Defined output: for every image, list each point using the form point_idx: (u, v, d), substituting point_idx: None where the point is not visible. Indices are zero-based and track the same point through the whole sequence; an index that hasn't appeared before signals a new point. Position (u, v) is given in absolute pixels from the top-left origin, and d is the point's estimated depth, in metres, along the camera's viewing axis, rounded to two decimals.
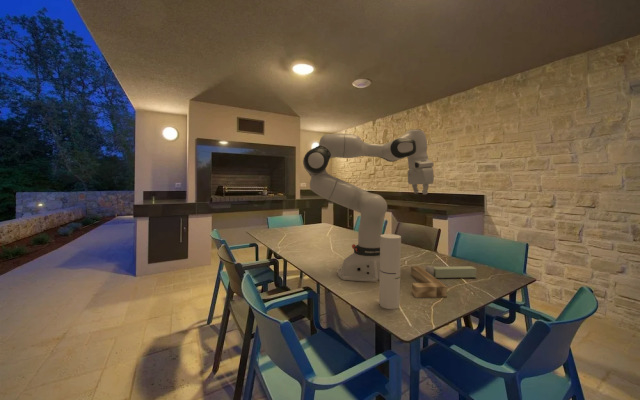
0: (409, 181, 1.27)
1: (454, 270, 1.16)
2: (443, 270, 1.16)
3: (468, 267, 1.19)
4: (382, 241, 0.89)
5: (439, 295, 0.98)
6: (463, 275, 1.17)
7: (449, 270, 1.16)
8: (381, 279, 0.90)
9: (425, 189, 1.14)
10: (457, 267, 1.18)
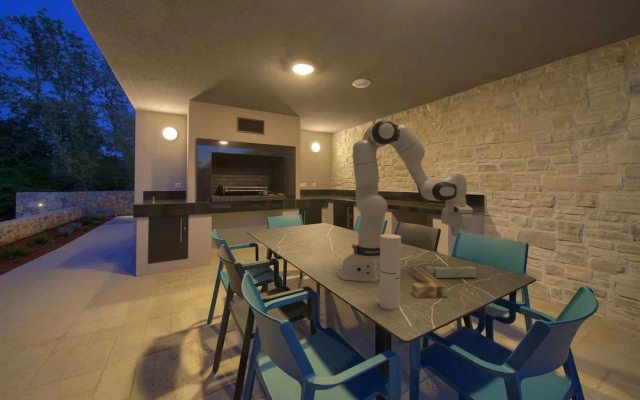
0: (443, 221, 1.31)
1: (454, 270, 1.16)
2: (443, 270, 1.16)
3: (468, 267, 1.19)
4: (382, 241, 0.89)
5: (439, 295, 0.98)
6: (463, 275, 1.17)
7: (449, 270, 1.16)
8: (381, 279, 0.90)
9: (456, 232, 1.22)
10: (457, 267, 1.18)
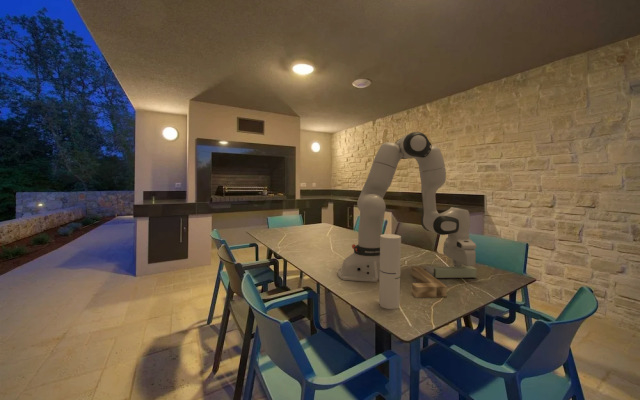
0: (445, 252, 1.28)
1: (455, 270, 1.16)
2: (443, 270, 1.16)
3: (468, 267, 1.18)
4: (382, 241, 0.89)
5: (439, 295, 0.98)
6: (463, 275, 1.17)
7: (449, 270, 1.16)
8: (381, 279, 0.90)
9: (458, 266, 1.20)
10: (457, 267, 1.18)
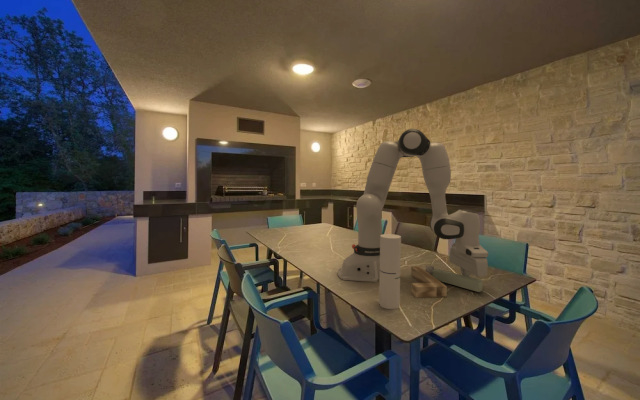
0: (451, 260, 1.16)
1: (452, 276, 1.08)
2: (440, 273, 1.12)
3: (474, 279, 1.04)
4: (382, 241, 0.89)
5: (439, 295, 0.98)
6: (463, 285, 1.05)
7: (446, 275, 1.10)
8: (381, 279, 0.90)
9: (467, 275, 1.07)
10: (459, 276, 1.08)
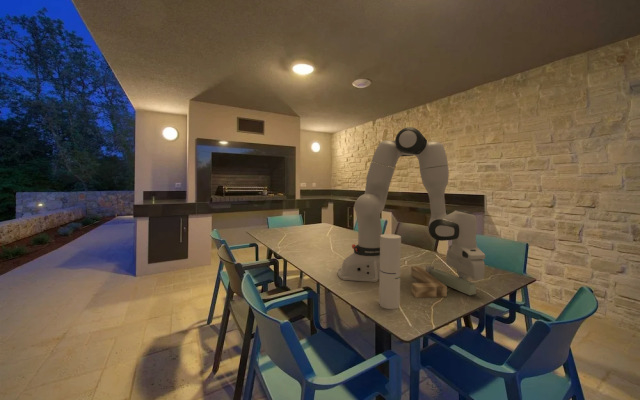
0: (448, 262, 1.13)
1: (447, 277, 1.07)
2: (436, 273, 1.12)
3: (467, 282, 1.01)
4: (382, 241, 0.89)
5: (439, 295, 0.98)
6: (456, 287, 1.03)
7: (442, 276, 1.09)
8: (381, 279, 0.90)
9: (465, 278, 1.04)
10: (454, 277, 1.06)
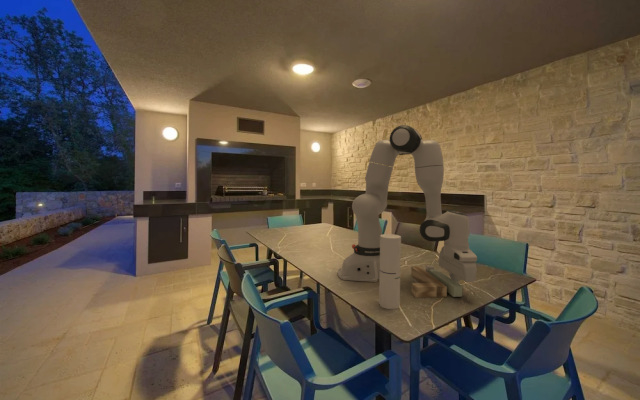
0: (441, 264, 1.10)
1: (439, 278, 1.07)
2: (432, 273, 1.12)
3: (454, 283, 0.99)
4: (382, 241, 0.89)
5: (439, 295, 0.98)
6: None
7: (435, 276, 1.09)
8: (381, 279, 0.90)
9: (456, 280, 1.01)
10: (445, 278, 1.05)
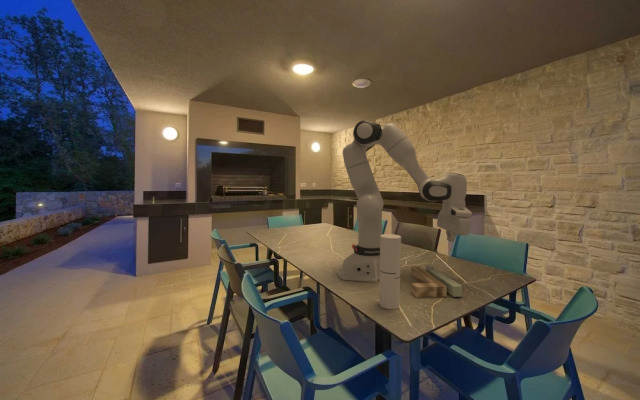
0: (439, 224, 1.19)
1: (439, 278, 1.07)
2: (432, 273, 1.12)
3: (454, 283, 0.99)
4: (382, 241, 0.89)
5: (439, 295, 0.98)
6: None
7: (435, 276, 1.09)
8: (381, 279, 0.90)
9: (452, 237, 1.10)
10: (445, 278, 1.05)
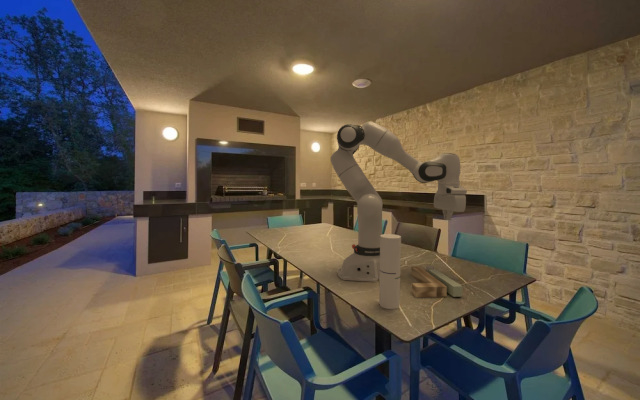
0: (435, 205, 1.22)
1: (439, 278, 1.07)
2: (432, 273, 1.12)
3: (454, 283, 0.99)
4: (382, 241, 0.89)
5: (439, 295, 0.98)
6: None
7: (435, 276, 1.09)
8: (381, 279, 0.90)
9: (449, 215, 1.14)
10: (445, 278, 1.05)
